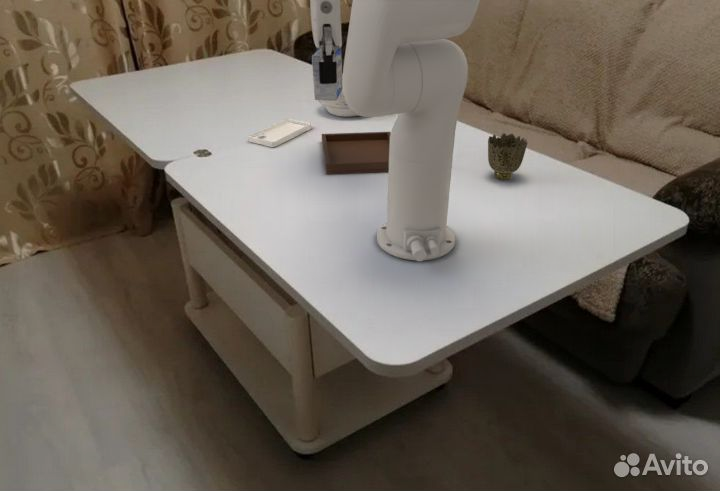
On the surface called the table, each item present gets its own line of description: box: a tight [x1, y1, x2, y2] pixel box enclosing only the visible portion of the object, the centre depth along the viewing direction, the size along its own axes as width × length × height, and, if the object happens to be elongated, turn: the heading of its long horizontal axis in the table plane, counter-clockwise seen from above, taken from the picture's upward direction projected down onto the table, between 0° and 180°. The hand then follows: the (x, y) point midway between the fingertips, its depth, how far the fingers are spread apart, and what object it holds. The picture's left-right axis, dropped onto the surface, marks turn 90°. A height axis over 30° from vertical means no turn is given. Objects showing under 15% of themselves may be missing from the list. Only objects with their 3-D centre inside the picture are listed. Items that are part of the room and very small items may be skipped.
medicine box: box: [311, 45, 343, 101], centre depth 115 cm, size 8×4×9 cm, turn 173°
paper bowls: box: [317, 73, 359, 118], centre depth 152 cm, size 15×15×8 cm
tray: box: [321, 131, 391, 175], centre depth 127 cm, size 18×16×2 cm
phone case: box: [248, 118, 312, 148], centre depth 138 cm, size 7×1×15 cm
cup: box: [487, 132, 529, 181], centre depth 116 cm, size 8×7×8 cm
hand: (326, 76), depth 115 cm, fingers closed on medicine box, 8 cm apart
